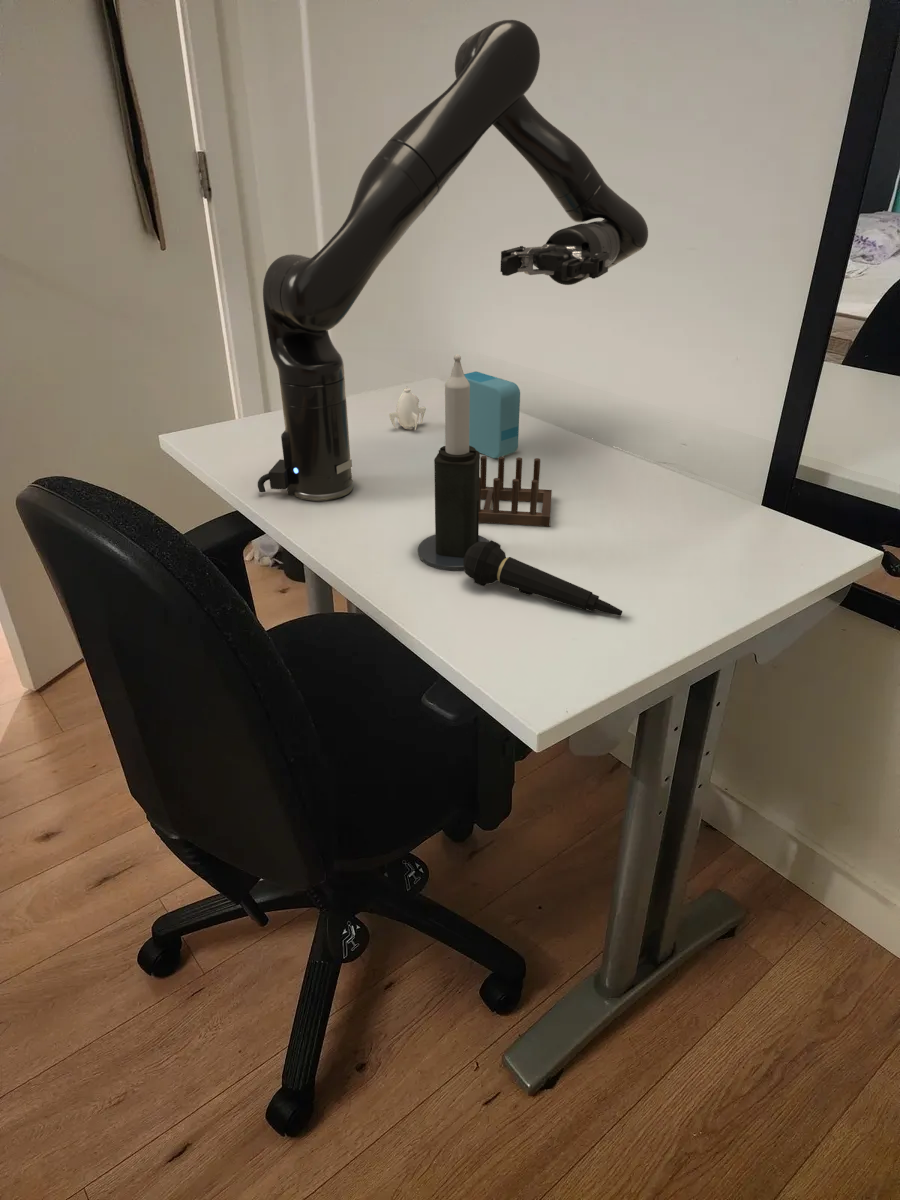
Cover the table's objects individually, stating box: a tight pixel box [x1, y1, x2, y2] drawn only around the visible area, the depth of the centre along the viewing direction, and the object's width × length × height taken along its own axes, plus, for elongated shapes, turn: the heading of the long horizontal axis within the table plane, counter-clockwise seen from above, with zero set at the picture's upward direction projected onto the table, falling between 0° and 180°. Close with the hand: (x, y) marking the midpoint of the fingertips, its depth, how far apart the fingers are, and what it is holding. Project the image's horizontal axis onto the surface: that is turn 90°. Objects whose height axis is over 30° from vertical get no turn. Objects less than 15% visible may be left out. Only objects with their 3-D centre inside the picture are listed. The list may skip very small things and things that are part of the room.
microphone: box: [463, 539, 623, 617], centre depth 94 cm, size 6×6×20 cm
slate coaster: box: [417, 534, 491, 572], centre depth 105 cm, size 10×10×1 cm
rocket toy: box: [388, 387, 427, 431], centre depth 146 cm, size 5×5×8 cm
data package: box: [464, 371, 521, 459], centre depth 135 cm, size 12×4×12 cm, turn 41°
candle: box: [433, 353, 481, 558], centre depth 98 cm, size 5×5×25 cm
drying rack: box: [479, 455, 553, 528], centre depth 115 cm, size 14×9×6 cm
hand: (533, 269), depth 105 cm, fingers open, 8 cm apart
